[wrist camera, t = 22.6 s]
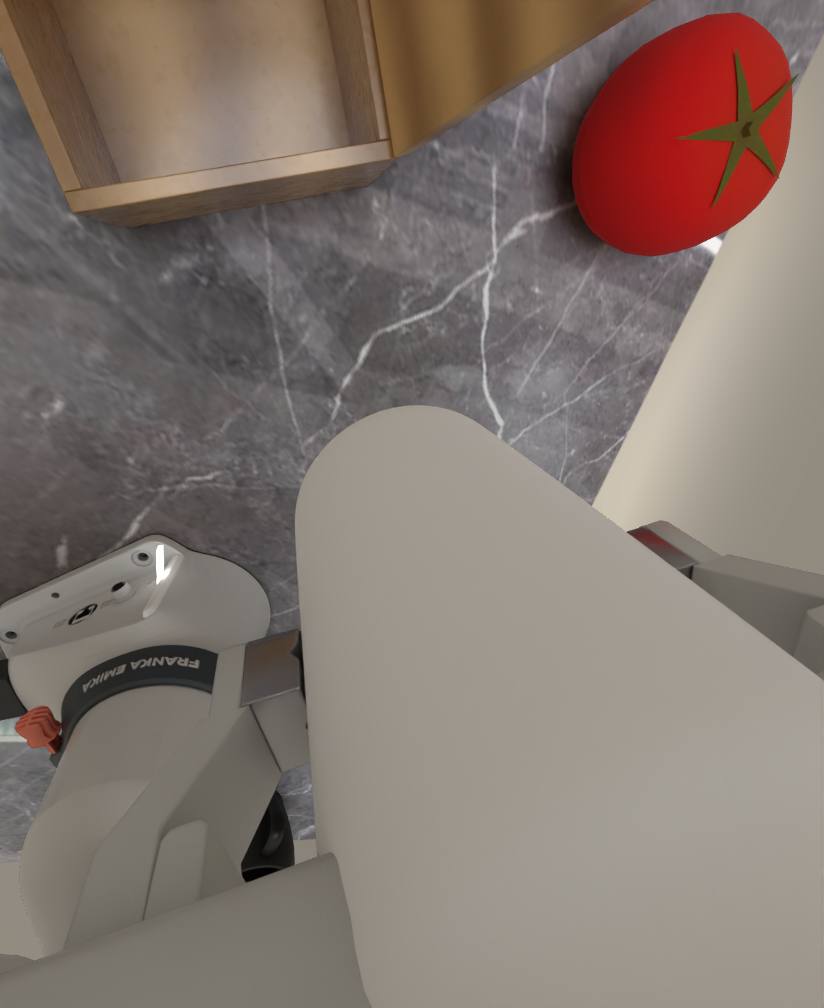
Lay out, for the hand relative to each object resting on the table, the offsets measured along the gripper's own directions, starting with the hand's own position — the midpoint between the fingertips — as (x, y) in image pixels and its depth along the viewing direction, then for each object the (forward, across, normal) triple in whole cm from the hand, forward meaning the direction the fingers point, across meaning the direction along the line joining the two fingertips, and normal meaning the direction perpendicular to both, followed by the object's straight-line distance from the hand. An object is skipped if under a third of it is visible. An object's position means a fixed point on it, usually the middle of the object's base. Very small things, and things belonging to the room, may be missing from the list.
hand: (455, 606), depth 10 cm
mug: (+33, +20, +49) cm, 62 cm away
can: (+5, 0, 0) cm, 5 cm away
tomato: (+33, -27, -10) cm, 44 cm away
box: (+33, +2, -17) cm, 37 cm away
